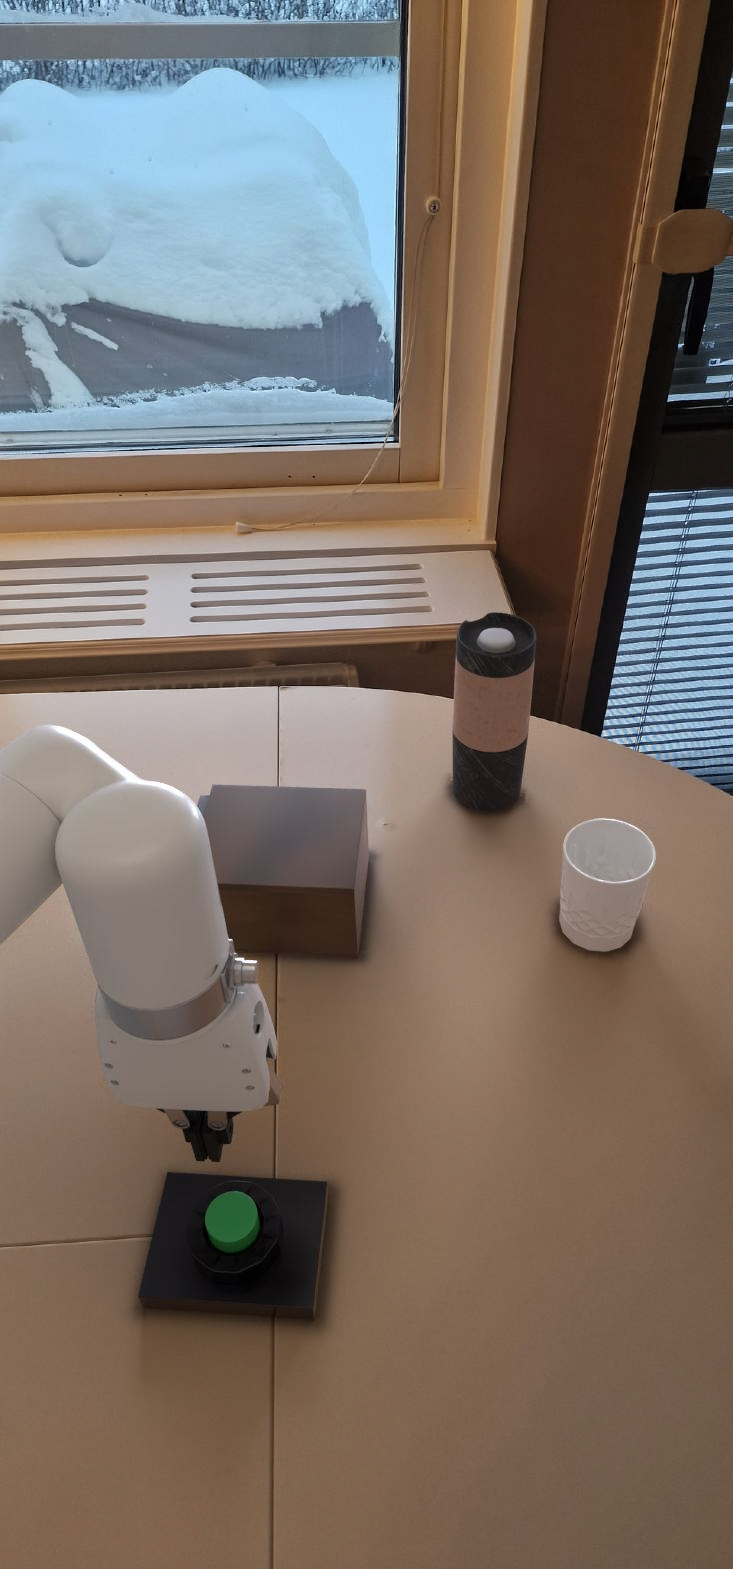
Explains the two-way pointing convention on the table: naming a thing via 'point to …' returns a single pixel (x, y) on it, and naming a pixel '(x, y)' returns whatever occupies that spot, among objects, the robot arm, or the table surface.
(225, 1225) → the button
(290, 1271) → the control block
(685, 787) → the table surface
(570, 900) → the white cup
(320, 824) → the cabinet
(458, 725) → the travel mug
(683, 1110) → the table surface
